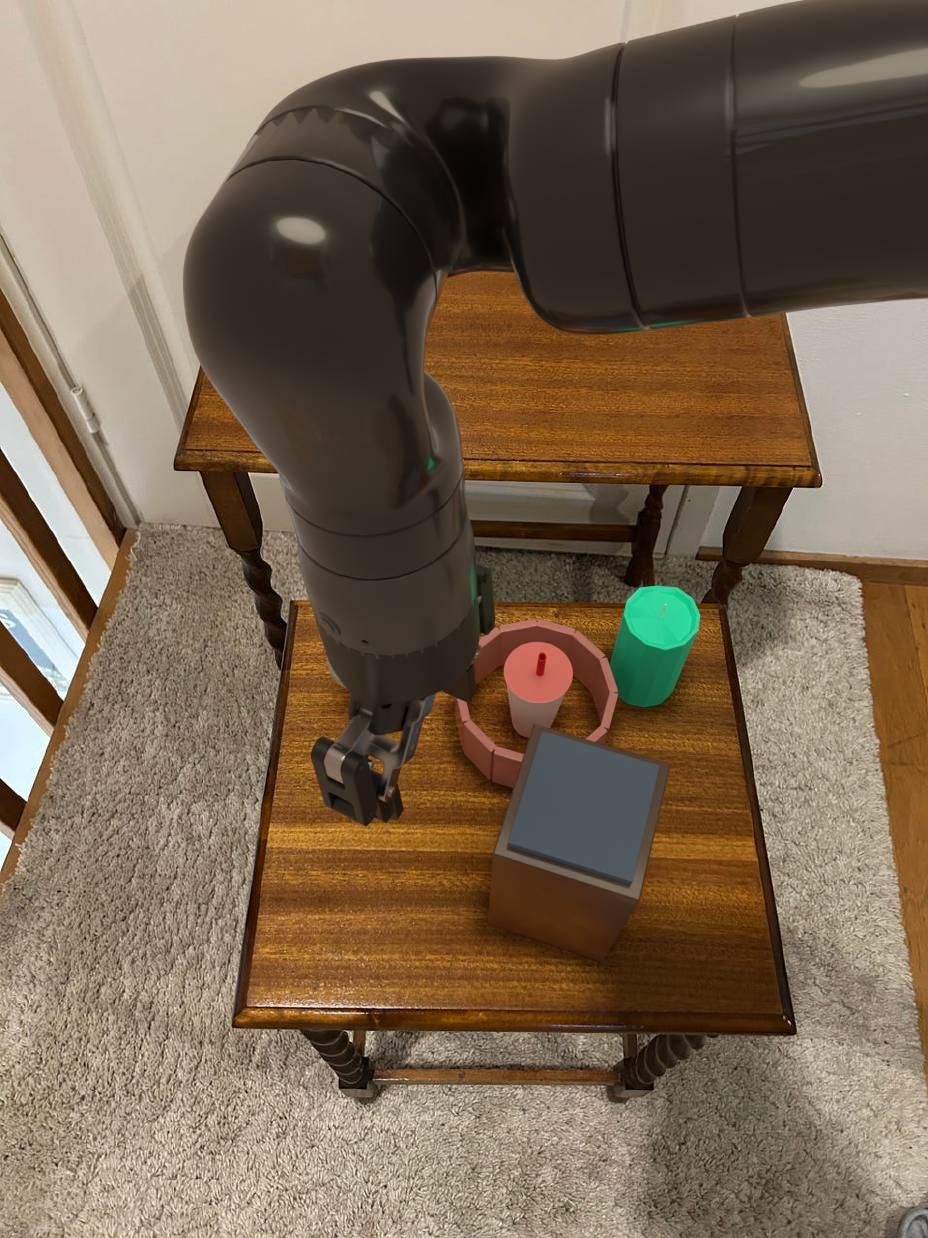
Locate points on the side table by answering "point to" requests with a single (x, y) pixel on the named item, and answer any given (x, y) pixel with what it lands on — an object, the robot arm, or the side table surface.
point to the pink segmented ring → (494, 653)
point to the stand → (565, 879)
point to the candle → (653, 644)
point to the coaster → (585, 807)
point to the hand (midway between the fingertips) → (423, 748)
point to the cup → (536, 684)
